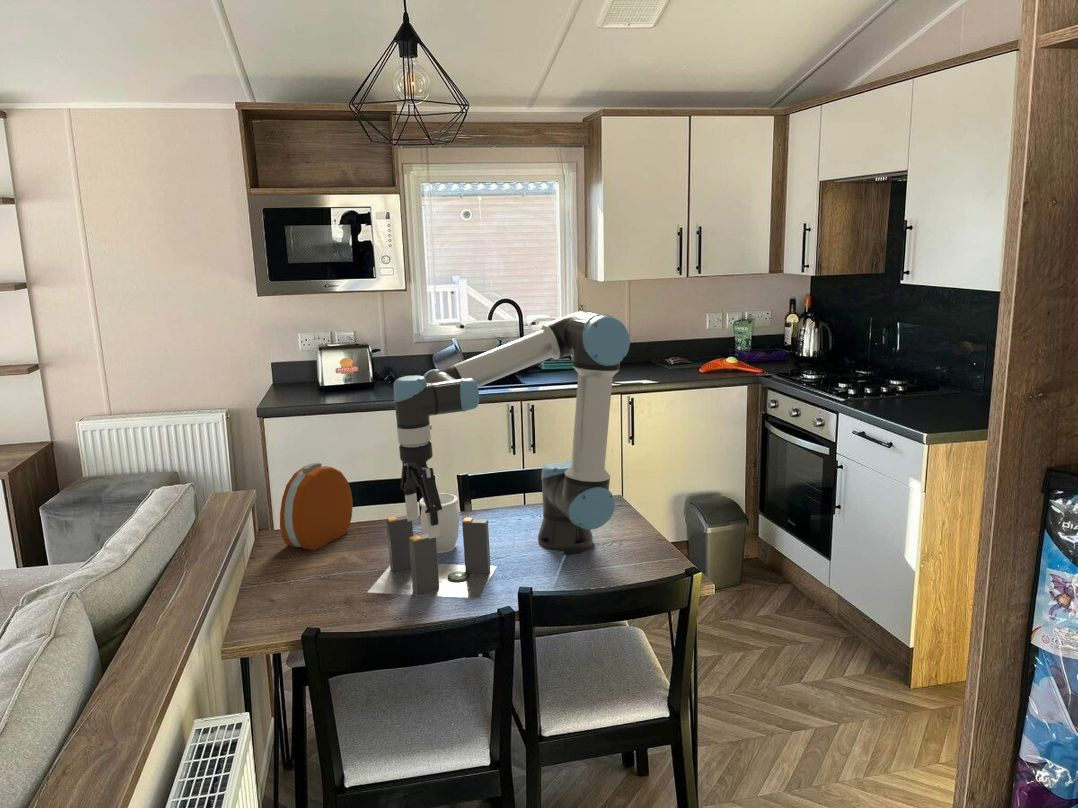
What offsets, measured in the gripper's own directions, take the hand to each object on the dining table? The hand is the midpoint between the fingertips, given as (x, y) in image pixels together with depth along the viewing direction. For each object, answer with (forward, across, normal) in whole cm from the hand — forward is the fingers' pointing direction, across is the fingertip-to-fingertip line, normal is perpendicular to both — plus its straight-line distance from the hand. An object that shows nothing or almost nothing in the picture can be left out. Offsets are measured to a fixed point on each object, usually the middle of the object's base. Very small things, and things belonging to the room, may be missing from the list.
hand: (423, 528), depth 195 cm
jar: (+17, +23, -13) cm, 31 cm away
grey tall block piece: (+16, +2, -14) cm, 22 cm away
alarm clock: (+17, +52, +14) cm, 56 cm away
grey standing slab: (+16, 0, +1) cm, 16 cm away
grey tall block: (+16, +15, +1) cm, 22 cm away
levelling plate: (+17, +5, -3) cm, 18 cm away
